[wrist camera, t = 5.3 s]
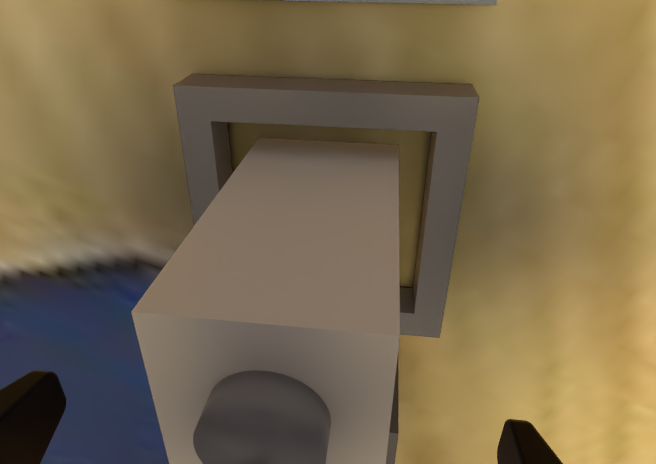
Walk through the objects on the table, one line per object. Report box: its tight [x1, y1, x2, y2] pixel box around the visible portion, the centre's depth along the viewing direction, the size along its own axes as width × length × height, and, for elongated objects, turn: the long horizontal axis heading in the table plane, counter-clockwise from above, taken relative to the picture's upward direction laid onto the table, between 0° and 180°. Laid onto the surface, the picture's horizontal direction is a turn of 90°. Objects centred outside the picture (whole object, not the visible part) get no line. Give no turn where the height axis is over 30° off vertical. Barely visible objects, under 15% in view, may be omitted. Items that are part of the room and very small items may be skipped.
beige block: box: [131, 138, 400, 464], centre depth 13 cm, size 5×5×10 cm
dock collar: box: [173, 74, 479, 338], centre depth 16 cm, size 9×9×2 cm
